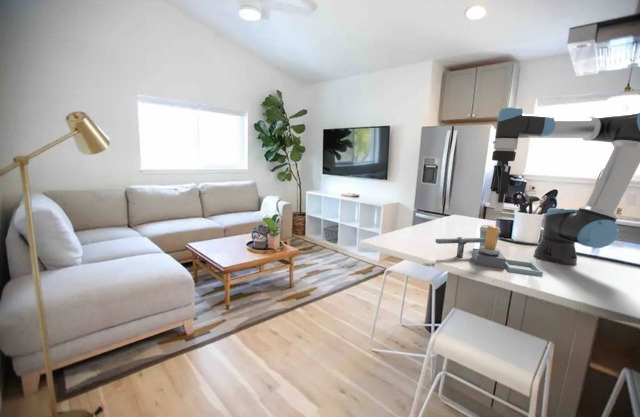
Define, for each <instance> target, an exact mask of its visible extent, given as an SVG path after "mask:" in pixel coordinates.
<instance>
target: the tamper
mask: <svg viewBox="0 0 640 417" xmlns="http://www.w3.org/2000/svg"><path fill="white" fill-rule="evenodd" d="M497 234H498V226H495V225H490V226H488V227H487V234H486V240H485V246H480V245H479V248H478V249H479V251H480V252H482V253H483V254H482V255H490V256H495V255H499V253H501V250H500V248H497V244H496V240H497ZM495 246H496V248H495Z"/></svg>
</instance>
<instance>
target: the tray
mask: <svg viewBox="0 0 640 417" xmlns="http://www.w3.org/2000/svg"><path fill="white" fill-rule="evenodd" d="M511 265H516V266H524V267H530V268H531V269H528V268H521V267H520V268H519V267H513V266H511ZM505 269H506V270H507V271H508V272H509V273H510V272H511V273H519V274H524V275H533V276H538V277H543V274H544V271H542V269H541V268H539V267H538V266H537V265H536V264H535V263H534V262H531V261H530V262H529V261H524V260H523V261H522V260H516V259H508V258H506V263H505Z"/></svg>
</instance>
